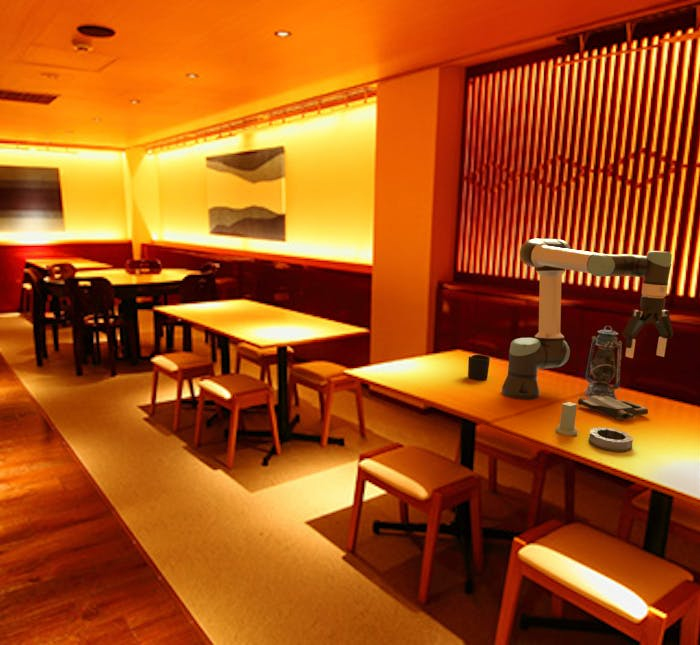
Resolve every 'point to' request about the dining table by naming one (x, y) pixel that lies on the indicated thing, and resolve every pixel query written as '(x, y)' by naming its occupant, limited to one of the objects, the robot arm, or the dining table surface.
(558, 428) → the toggle switch lever
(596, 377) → the lantern
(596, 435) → the barrel ring
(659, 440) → the dining table surface
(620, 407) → the camcorder
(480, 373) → the pen holder
